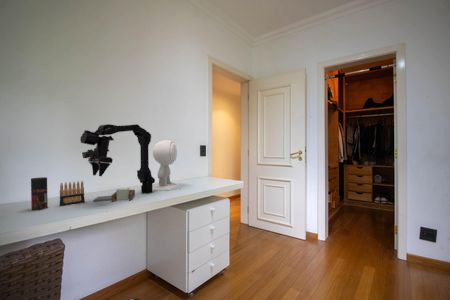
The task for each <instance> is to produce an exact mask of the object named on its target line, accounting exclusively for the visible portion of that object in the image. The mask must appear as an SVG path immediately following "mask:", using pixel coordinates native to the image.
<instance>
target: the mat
mask: <svg viewBox="0 0 450 300" xmlns="http://www.w3.org/2000/svg"><path fill="white" fill-rule="evenodd" d="M111 196H112V195H102V196H97V197H96V198H94V199H93V201H92V202H103V201H104V202H105V201H108V200H109V201H111ZM109 201H108V202H109Z"/></svg>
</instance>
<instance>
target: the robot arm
mask: <svg viewBox="0 0 450 300" xmlns="http://www.w3.org/2000/svg"><path fill="white" fill-rule="evenodd" d="M122 132H133V134H134V136H135V137H136V138H137V142H138V144H139V146H140V148H139V149H140V154H139V155H140V168H139V169H138V170H136V172H137V176H136V178H137V179H138V181H139V183H140V184H141V185H140V187H141V188H140V192H141V194H151V193H153V192H154V191H153V184H154V183H155V181H156V179H155V178H154V177H153V176H152V170H151V169H150V167H149V165H150V162H149V157H150V155H149V145H150V143H151V141H152V134H151V133H150V132H149V131H148V130H146V129H145V128H143V127H141V125H139V124H136V123H135V124H125V125H115V124H109V123H108V124H100V125H99V126H98V128H97V130H95V131H91V130H87V129H85V130H84V131H83V133H82V134H81V136H80V138H79V139H80V143H81V144H85V145H90V146H96V147H94V149H87V151H84V152H81V153H82V158H83V159H88V160H87V162H88V163H89V164H90V165H91V169H92V175H93V176H96V175H97V173H98V177H103V175H104V174H105V172H106V171H107V169H108V168H109V167H110V165H111V164H113V158H112V157H111V156H109V157H108V152H110V149H109V147H110V141H115V139H114V138H113V137H112V135H114V134H117V133H122Z"/></svg>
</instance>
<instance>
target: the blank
mask: <svg viewBox="0 0 450 300" xmlns="http://www.w3.org/2000/svg"><path fill="white" fill-rule="evenodd" d="M129 190H130V188H129V187H126V188H125V187H124V188H122V187H121V188H117V189H116V191H117V199H116V201H118V200H119V201H128V199H129ZM119 201H118V202H119Z"/></svg>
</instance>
